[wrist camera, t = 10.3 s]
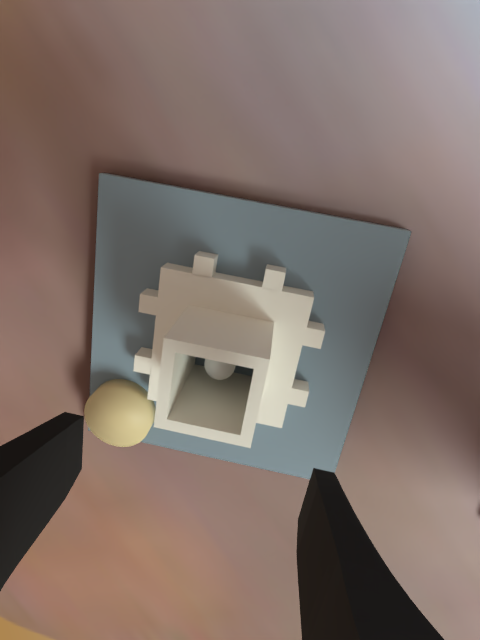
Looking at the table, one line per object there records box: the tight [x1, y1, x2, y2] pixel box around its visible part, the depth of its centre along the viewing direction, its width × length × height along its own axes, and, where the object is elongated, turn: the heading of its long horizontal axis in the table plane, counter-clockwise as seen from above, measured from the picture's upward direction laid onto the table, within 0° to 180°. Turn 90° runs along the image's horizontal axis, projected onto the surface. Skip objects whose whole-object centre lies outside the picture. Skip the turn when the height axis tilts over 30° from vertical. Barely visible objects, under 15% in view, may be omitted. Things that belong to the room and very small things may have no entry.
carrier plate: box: [84, 173, 412, 479], centre depth 19 cm, size 14×14×4 cm
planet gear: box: [133, 251, 325, 448], centre depth 18 cm, size 9×9×5 cm
